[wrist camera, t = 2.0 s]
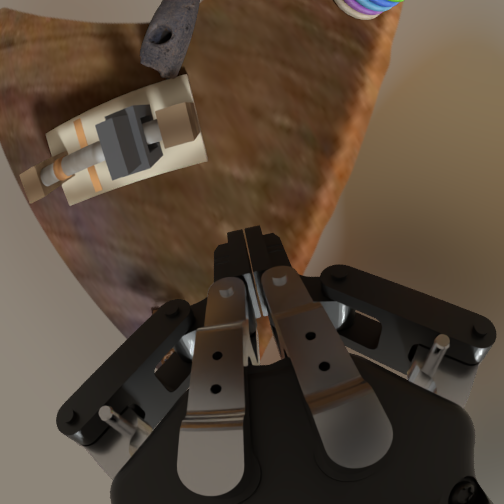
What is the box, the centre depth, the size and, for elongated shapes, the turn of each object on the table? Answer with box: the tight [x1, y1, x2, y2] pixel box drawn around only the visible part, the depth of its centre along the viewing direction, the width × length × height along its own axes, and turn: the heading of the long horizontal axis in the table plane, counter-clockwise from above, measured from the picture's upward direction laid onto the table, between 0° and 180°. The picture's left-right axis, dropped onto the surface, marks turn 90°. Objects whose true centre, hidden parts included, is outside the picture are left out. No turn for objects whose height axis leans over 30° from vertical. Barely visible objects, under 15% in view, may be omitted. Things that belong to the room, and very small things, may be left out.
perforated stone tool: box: [140, 0, 200, 79], centre depth 21 cm, size 15×5×7 cm, turn 163°
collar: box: [95, 104, 163, 181], centre depth 23 cm, size 6×3×10 cm, turn 11°
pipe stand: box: [20, 74, 208, 206], centre depth 27 cm, size 12×22×10 cm, turn 101°
